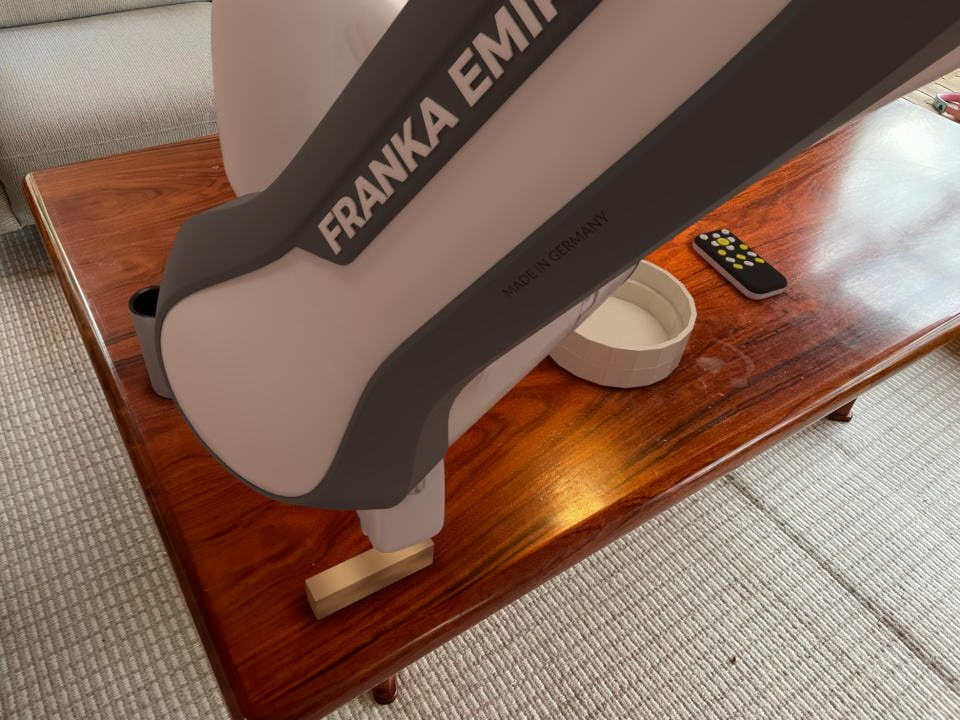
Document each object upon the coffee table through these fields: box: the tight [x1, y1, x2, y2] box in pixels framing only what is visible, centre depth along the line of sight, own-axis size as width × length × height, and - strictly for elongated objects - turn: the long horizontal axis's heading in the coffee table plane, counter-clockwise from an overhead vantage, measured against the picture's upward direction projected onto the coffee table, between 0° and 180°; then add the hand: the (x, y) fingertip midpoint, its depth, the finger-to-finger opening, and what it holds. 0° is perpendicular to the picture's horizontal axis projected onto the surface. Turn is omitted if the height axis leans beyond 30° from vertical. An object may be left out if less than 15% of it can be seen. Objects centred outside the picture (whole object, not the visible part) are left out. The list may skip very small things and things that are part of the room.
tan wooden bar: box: [304, 537, 435, 621], centre depth 57 cm, size 10×2×3 cm, turn 122°
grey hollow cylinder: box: [127, 284, 172, 399], centre depth 68 cm, size 4×4×10 cm
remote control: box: [692, 228, 788, 301], centre depth 94 cm, size 6×13×2 cm, turn 27°
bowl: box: [548, 259, 698, 389], centre depth 80 cm, size 16×16×6 cm
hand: (345, 464), depth 46 cm, fingers open, 8 cm apart
